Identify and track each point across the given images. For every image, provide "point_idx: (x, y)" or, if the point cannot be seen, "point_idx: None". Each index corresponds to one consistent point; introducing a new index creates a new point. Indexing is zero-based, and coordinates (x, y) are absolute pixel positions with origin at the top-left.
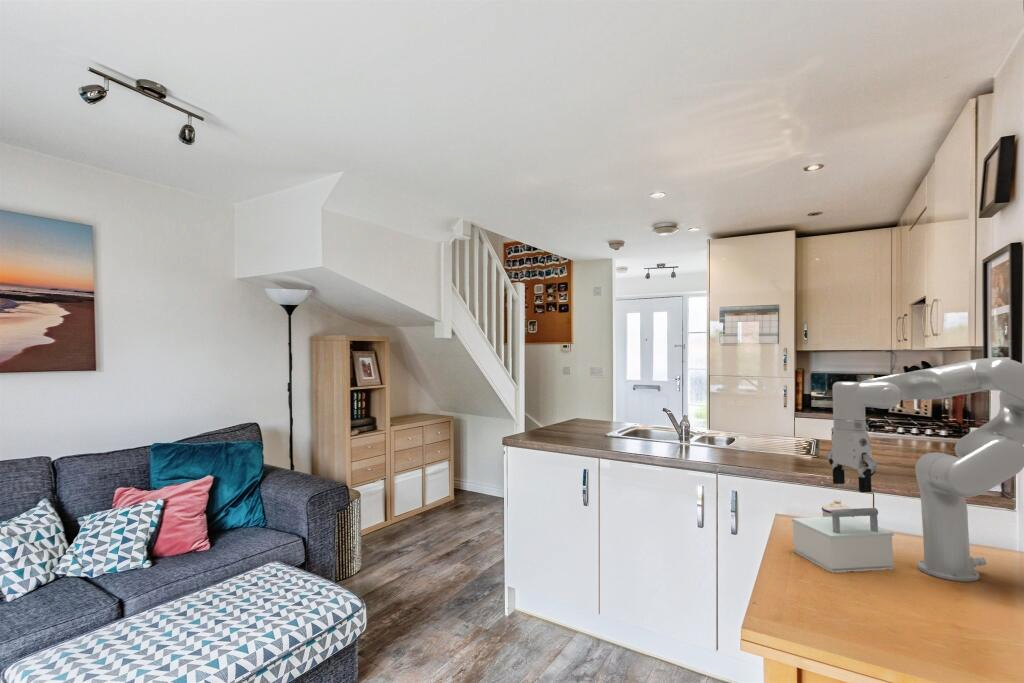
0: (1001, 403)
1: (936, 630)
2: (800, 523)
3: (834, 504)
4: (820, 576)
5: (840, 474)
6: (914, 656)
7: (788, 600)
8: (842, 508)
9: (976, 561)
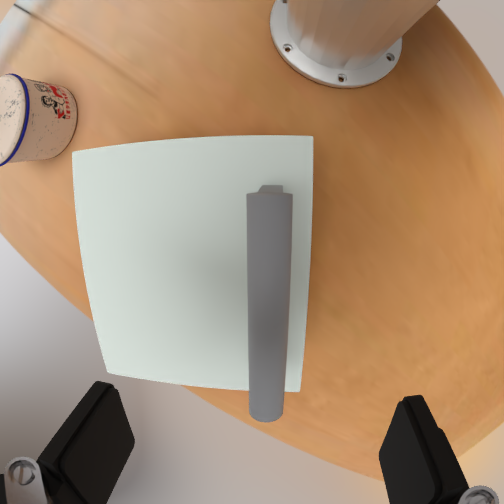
0: None
1: None
2: (148, 377)
3: None
4: (305, 362)
5: (95, 465)
6: None
7: (374, 447)
8: (6, 117)
9: None
